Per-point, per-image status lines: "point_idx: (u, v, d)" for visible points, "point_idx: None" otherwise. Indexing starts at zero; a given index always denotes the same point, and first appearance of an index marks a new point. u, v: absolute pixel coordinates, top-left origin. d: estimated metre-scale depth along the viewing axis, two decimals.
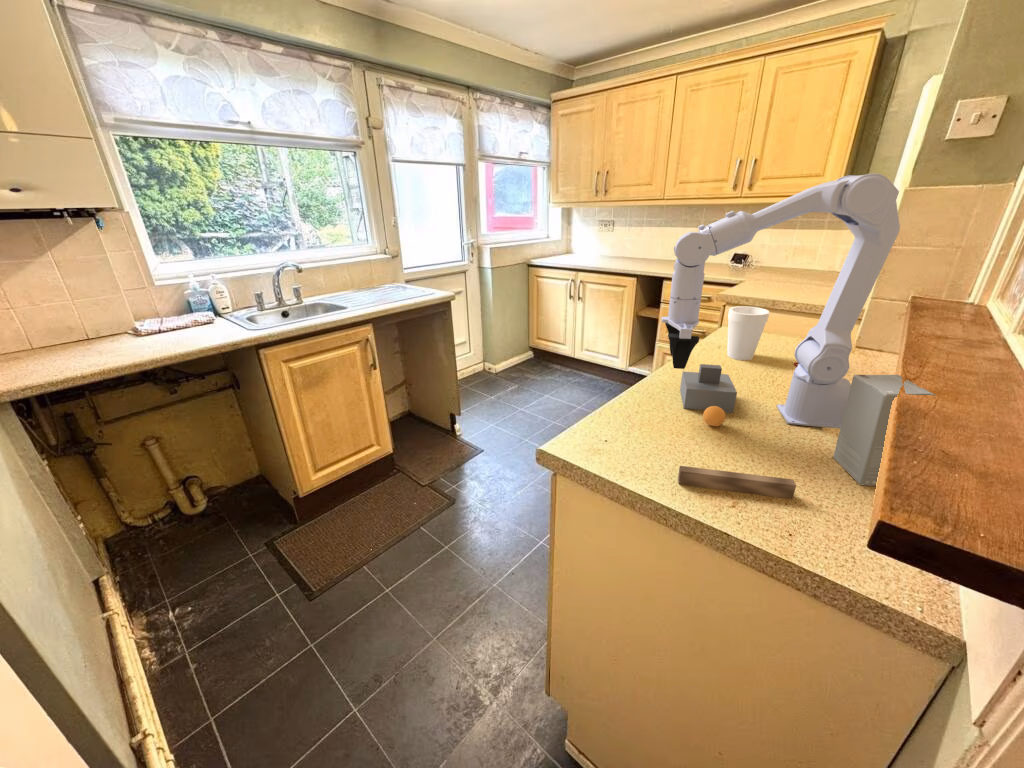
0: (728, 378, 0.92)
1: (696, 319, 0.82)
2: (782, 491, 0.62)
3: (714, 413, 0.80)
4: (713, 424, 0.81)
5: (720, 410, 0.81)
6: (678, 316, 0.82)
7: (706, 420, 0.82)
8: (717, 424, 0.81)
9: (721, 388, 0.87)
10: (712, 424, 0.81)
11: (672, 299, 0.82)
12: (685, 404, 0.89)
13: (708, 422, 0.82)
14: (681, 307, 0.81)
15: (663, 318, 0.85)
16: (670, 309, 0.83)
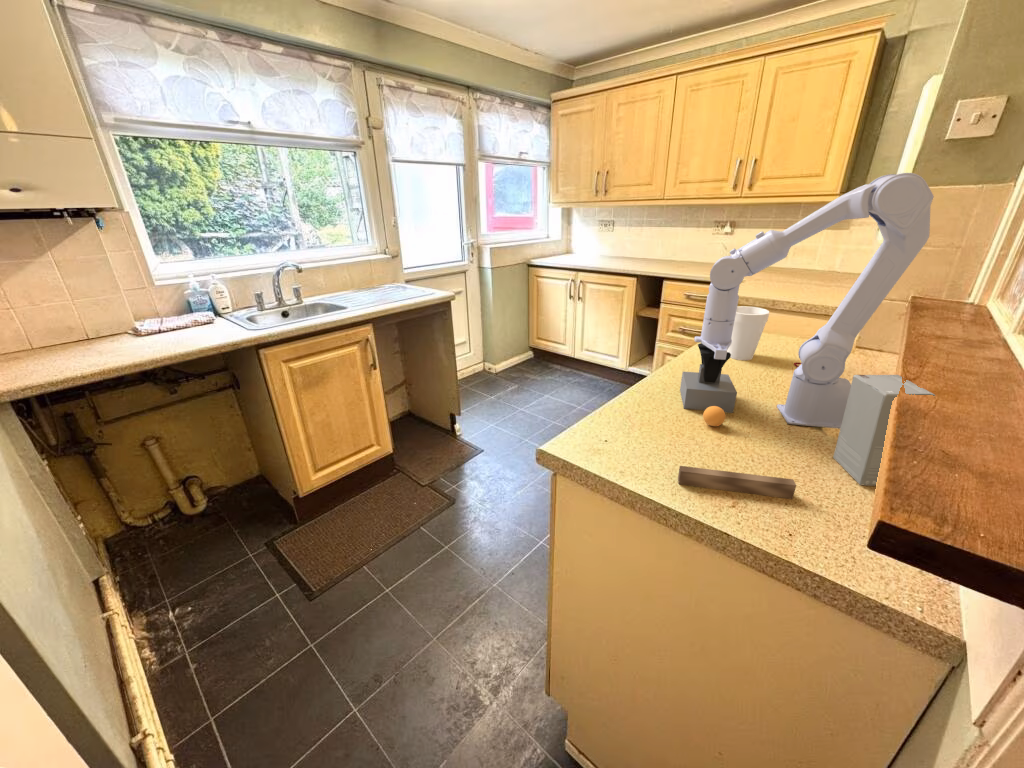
0: (728, 378, 0.92)
1: (729, 340, 0.85)
2: (782, 491, 0.62)
3: (714, 413, 0.80)
4: (713, 424, 0.81)
5: (720, 410, 0.81)
6: (711, 337, 0.84)
7: (706, 420, 0.82)
8: (717, 424, 0.81)
9: (721, 388, 0.87)
10: (712, 424, 0.81)
11: (706, 320, 0.84)
12: (685, 404, 0.89)
13: (708, 422, 0.82)
14: (716, 328, 0.83)
15: (696, 338, 0.87)
16: (704, 329, 0.86)
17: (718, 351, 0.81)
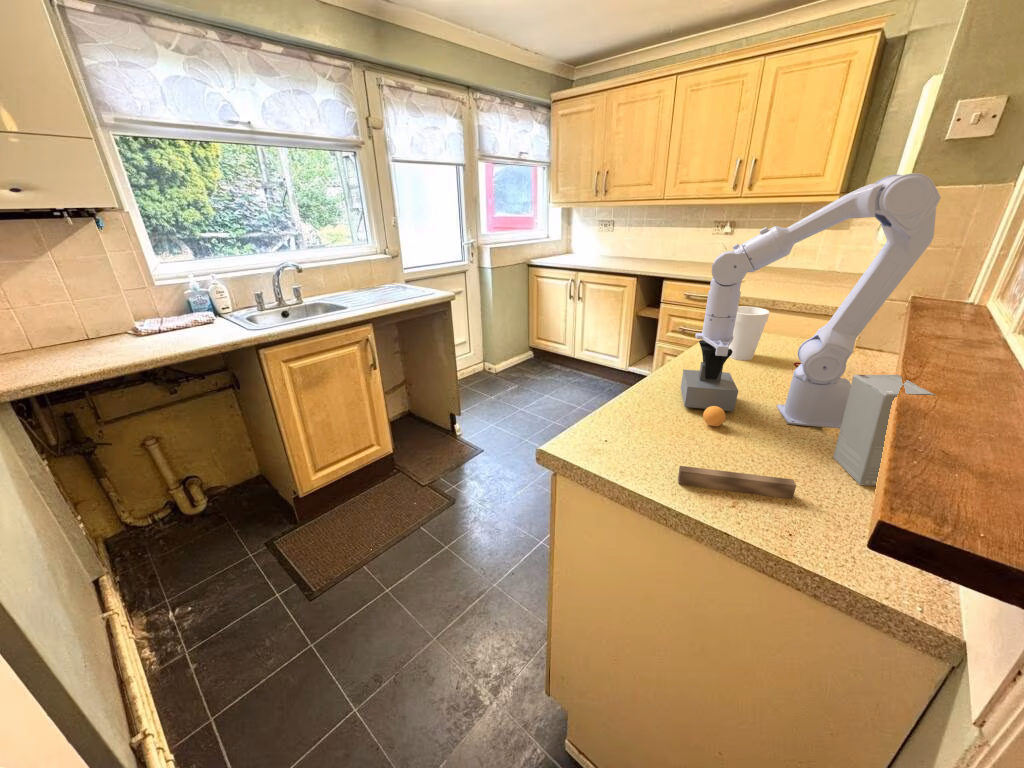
0: (729, 376, 0.91)
1: (731, 336, 0.84)
2: (782, 491, 0.62)
3: (714, 413, 0.80)
4: (713, 424, 0.81)
5: (720, 410, 0.81)
6: (713, 333, 0.83)
7: (706, 420, 0.82)
8: (717, 424, 0.81)
9: (722, 386, 0.86)
10: (712, 424, 0.81)
11: (708, 316, 0.83)
12: (686, 402, 0.88)
13: (708, 422, 0.82)
14: (717, 324, 0.82)
15: (697, 334, 0.86)
16: (705, 326, 0.85)
17: (719, 347, 0.80)
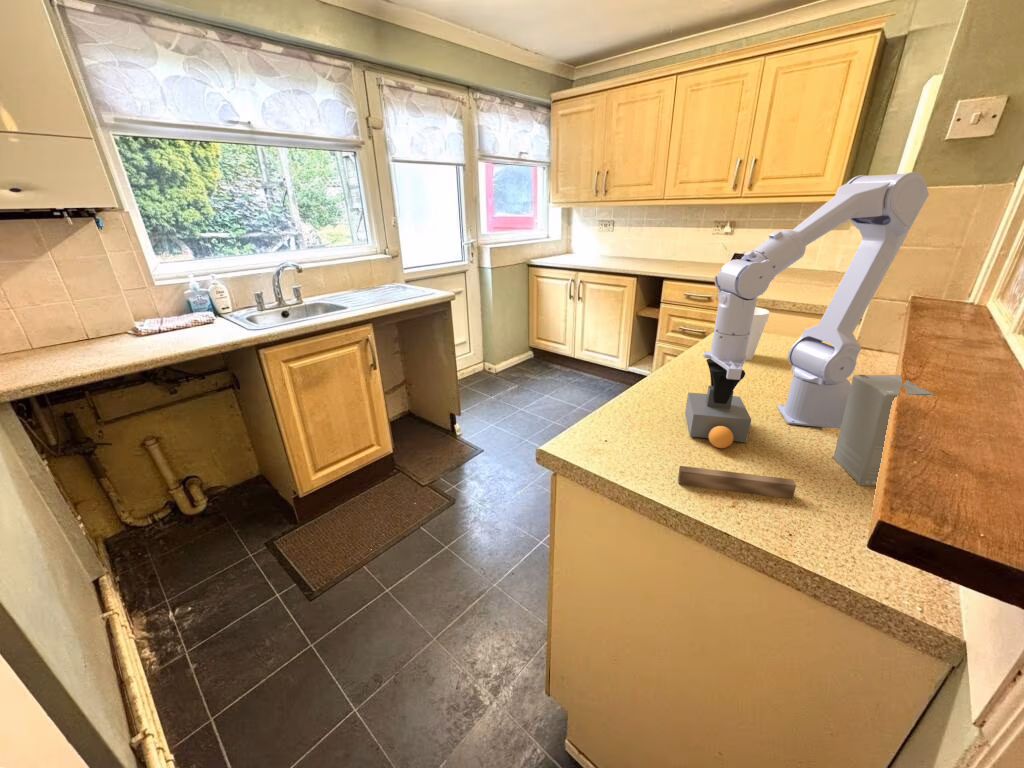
0: (740, 401, 0.81)
1: (743, 356, 0.74)
2: (782, 491, 0.62)
3: None
4: (720, 426, 0.75)
5: None
6: (723, 353, 0.73)
7: (712, 429, 0.75)
8: (724, 427, 0.75)
9: (733, 414, 0.76)
10: (719, 426, 0.75)
11: (717, 333, 0.73)
12: (691, 431, 0.78)
13: (715, 427, 0.75)
14: (728, 343, 0.72)
15: (705, 353, 0.76)
16: (714, 344, 0.75)
17: (731, 370, 0.70)
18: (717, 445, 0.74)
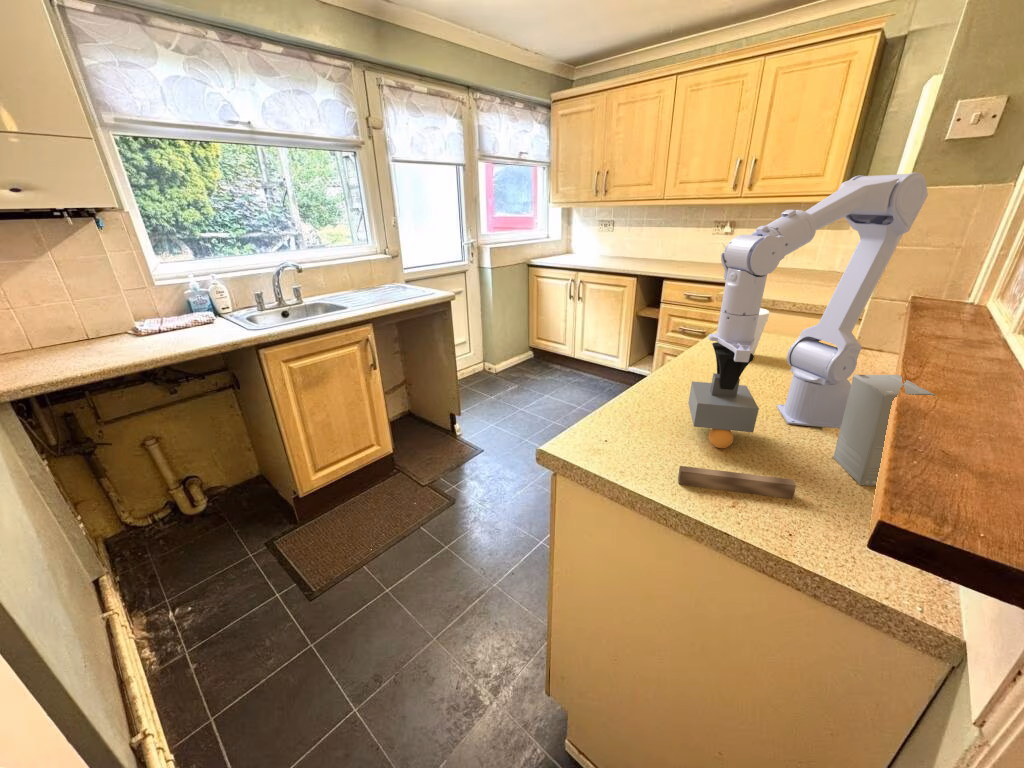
0: (747, 390, 0.77)
1: (752, 338, 0.69)
2: (782, 491, 0.62)
3: None
4: None
5: None
6: (730, 335, 0.69)
7: (712, 429, 0.75)
8: None
9: (739, 403, 0.72)
10: None
11: (724, 314, 0.69)
12: (695, 421, 0.74)
13: None
14: (736, 324, 0.68)
15: (711, 336, 0.72)
16: (721, 325, 0.70)
17: (739, 352, 0.65)
18: (717, 445, 0.74)
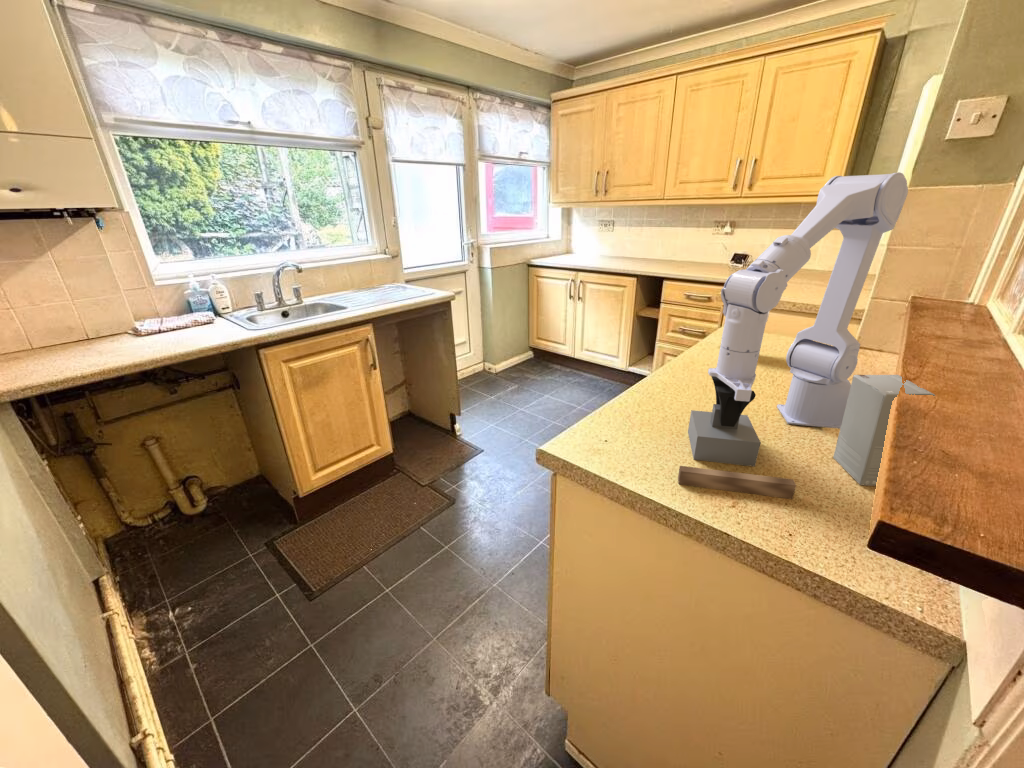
0: (748, 421, 0.75)
1: (753, 374, 0.67)
2: (782, 491, 0.62)
3: None
4: None
5: None
6: (731, 371, 0.67)
7: None
8: None
9: (740, 436, 0.70)
10: None
11: (724, 350, 0.67)
12: (695, 454, 0.72)
13: None
14: (736, 360, 0.66)
15: (711, 371, 0.70)
16: (721, 361, 0.68)
17: (740, 391, 0.63)
18: None
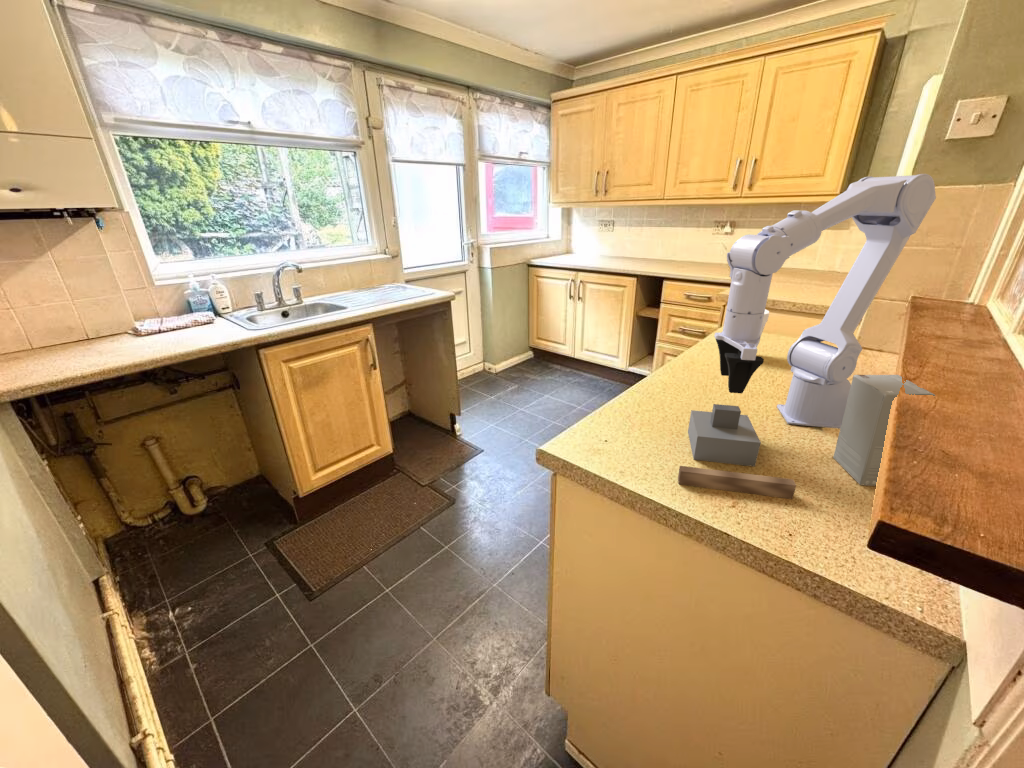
0: (748, 421, 0.75)
1: (758, 336, 0.70)
2: (782, 491, 0.62)
3: None
4: None
5: None
6: (736, 333, 0.70)
7: None
8: None
9: (740, 436, 0.70)
10: None
11: (730, 313, 0.70)
12: (695, 454, 0.72)
13: None
14: (742, 322, 0.69)
15: (717, 334, 0.73)
16: (727, 324, 0.71)
17: (746, 350, 0.66)
18: None
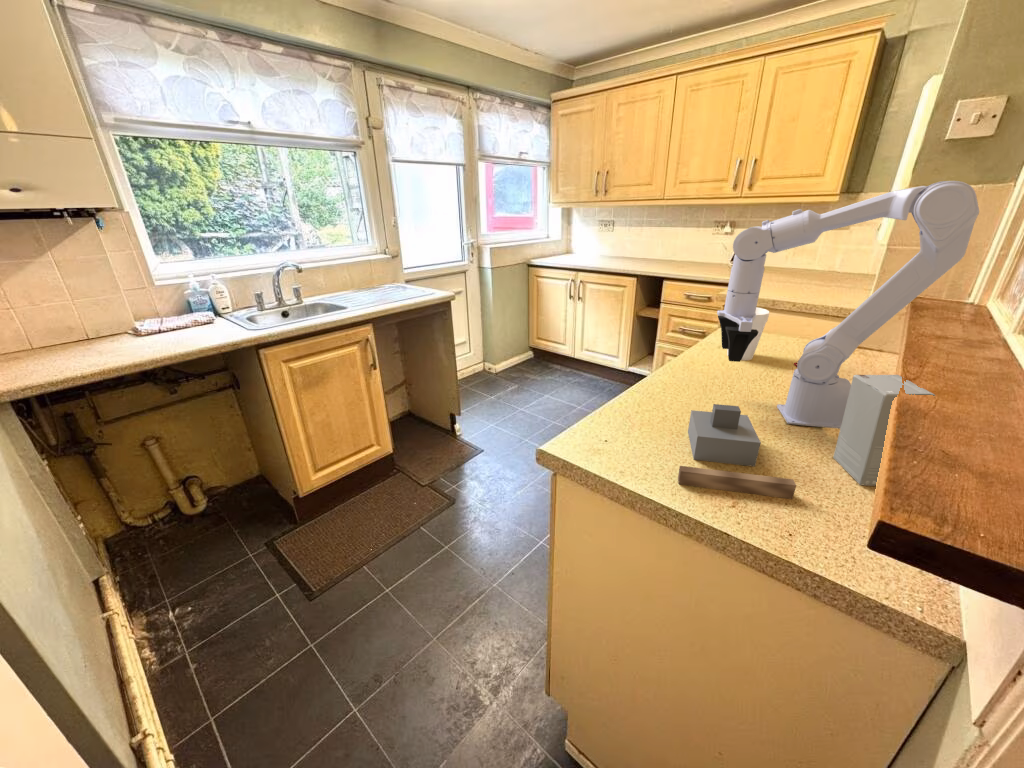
0: (748, 421, 0.75)
1: (754, 313, 0.83)
2: (782, 491, 0.62)
3: None
4: None
5: None
6: (736, 310, 0.83)
7: None
8: None
9: (740, 436, 0.70)
10: None
11: (730, 293, 0.83)
12: (695, 454, 0.72)
13: None
14: (740, 300, 0.82)
15: (719, 311, 0.86)
16: (727, 303, 0.84)
17: (743, 323, 0.79)
18: None
